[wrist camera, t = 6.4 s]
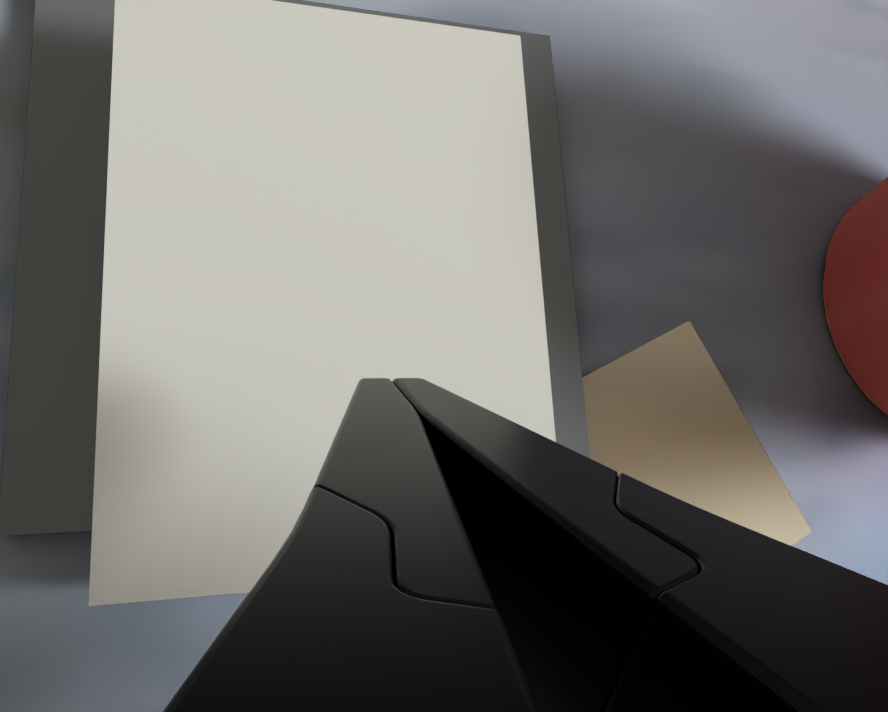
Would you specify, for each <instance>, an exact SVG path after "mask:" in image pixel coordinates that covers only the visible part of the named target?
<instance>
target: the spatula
mask: <svg viewBox="0 0 888 712" xmlns="http://www.w3.org/2000/svg"><path fill="white" fill-rule="evenodd" d="M582 378H583V388H584V398H585V409H586V419H587V430H588V440H589V450H590V459H592V460H594V461H596V462H598V463H601V464H603V465H605V466H607V467H609V468H611V469H613V470H615V471H617V473H618V475H619V474H620V473H624V474H626V475H628V476H630V477H632V478H635V479H637V480H639V481H641V482H643V483H645V484H647V485H649V486H651V487H654V488H656V489H658V490H660V491H662V492H665V493H667V494H669V495H671V496H673V497H676V498H678V499H680V500H682V501H684V502H687V503H689V504H691V505H694V506H696V507H698V508H701V509H703V510H705V511H708V512H710V513H712V514H715V515H717V516H720V517H722V518H724V519H727V520H729V521H731V522H734V523H736V524H739V525H741V526H743V527H746V528H748V529H751V530H753V531H756V532H758V533H761V534H763V535H766V536H768V537H770V538H773V539H775V540H778V541H780V542H783V543H785V544H788V545H790V546H792V545H793V544H795V543H796V542H798V541H799V540H801V539H802V538H804V537H805V536H807V535H808V534H810V533H811V532H812V531H811V529H810V527H809V526H808V524H807V522H806V520H805V519H804V517H803V515H802V514H801V512H800V510H799V508H798V507H797V505H796V503H795V501H794V500H793V498H792V496H791V495H790V493H789V491H788V489H787V488H786V486H785V484H784V483H783V481H782V479H781V477H780V476H779V474H778V472H777V470H776V469H775V467H774V465H773V464H772V462H771V460H770V458H769V457H768V455H767V453H766V451H765V450H764V448H763V446H762V445H761V443H760V441H759V439H758V438H757V436H756V434H755V433H754V431H753V429H752V427H751V426H750V424H749V422H748V420H747V419H746V417H745V415H744V414H743V412H742V410H741V408H740V407H739V405H738V403H737V401H736V400H735V398H734V396H733V395H732V393H731V391H730V389H729V388H728V386H727V384H726V383H725V381H724V379H723V377H722V376H721V374H720V372H719V370H718V369H717V367H716V365H715V364H714V362H713V360H712V358H711V357H710V355H709V353H708V352H707V350H706V348H705V346H704V345H703V343H702V341H701V339H700V338H699V336H698V334H697V333H696V331H695V329H694V327H693V326H692V324H691V322H690V320H689V321H687V322H685V323H684V324H682V325H680V326H678V327H676V328H674V329H672V330H670V331H669V332H667V333H665V334H663V335H661V336H659V337H657V338H655V339H654V340H652V341H650V342H648V343H646V344H644V345H642V346H640V347H639V348H637V349H635V350H633V351H631V352H629V353H627V354H625V355H623V356H622V357H620V358H618V359H616V360H614V361H612V362H610V363H608V364H607V365H605V366H603V367H601V368H599V369H597V370H595V371H593V372H592V373H590V374H588V375H586V376H584V377H582Z"/></svg>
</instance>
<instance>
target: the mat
mask: <svg viewBox="0 0 888 712" xmlns="http://www.w3.org/2000/svg"><path fill="white" fill-rule="evenodd" d="M273 1H280V2H287V3H294V4H301V5H308V6H315V7H323V8H330V9H337V10H344V11H351V12H358V13H365V14H372V15H379V16H386V17H393V18H400V19H407V20H414V21H421V22H428V23H435V24H442V25H449V26H456V27H463V28H470V29H477V30H484V31H491V32H498V33H505V34H512V35H519V36H520V37H521V49H522V60H523V71H524V83H525V94H526V106H527V117H528V129H529V140H530V151H531V163H532V174H533V186H534V197H535V208H536V220H537V231H538V243H539V254H540V266H541V277H542V288H543V300H544V311H545V323H546V334H547V345H548V357H549V368H550V380H551V391H552V402H553V414H554V425H555V437H556V442H557V443H559V444H561V445H563V446H565V447H567V448H569V449H571V450H573V451H575V452H578V453H580V454H582V455H584V456H586V457H588V458H590V450H589V440H588V430H587V419H586V409H585V398H584V388H583V378H582V367H581V357H580V346H579V336H578V326H577V315H576V305H575V294H574V284H573V274H572V263H571V253H570V242H569V232H568V222H567V211H566V201H565V190H564V180H563V170H562V159H561V149H560V138H559V128H558V118H557V107H556V97H555V86H554V76H553V66H552V55H551V45H550V36H545V35H538V34H531V33H524V32H517V31H510V30H503V29H496V28H490V27H483V26H476V25H469V24H462V23H455V22H448V21H441V20H434V19H427V18H420V17H414V16H407V15H400V14H393V13H386V12H379V11H372V10H365V9H358V8H351V7H344V6H338V5H331V4H324V3H317V2H310V1H303V0H273ZM114 12H115V0H35V11H34V26H33V40H32V54H31V68H30V82H29V96H28V111H27V125H26V139H25V153H24V167H23V182H22V196H21V210H20V224H19V238H18V252H17V267H16V281H15V295H14V309H13V323H12V338H11V352H10V366H9V380H8V394H7V408H6V423H5V437H4V451H3V465H2V479H1V493H0V536H11V535H28V534H46V533H63V532H81V531H92V518H93V495H94V472H95V449H96V426H97V403H98V380H99V357H100V334H101V311H102V288H103V265H104V242H105V219H106V196H107V173H108V150H109V127H110V104H111V81H112V58H113V35H114Z"/></svg>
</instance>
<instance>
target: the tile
mask: <svg viewBox="0 0 888 712" xmlns="http://www.w3.org/2000/svg"><path fill="white" fill-rule="evenodd" d="M362 378H388V379H390V380H391V381H393V380H394V379H396V378H421V379H425V380H427V381H429V382H431V383H433V384H435V385H437V386H439V387H441V388H444V389H446V390H448V391H450V392H452V393H454V394H456V395H458V396H460V397H462V398H464V399H467V400H469V401H471V402H473V403H475V404H477V405H479V406H481V407H483V408H485V409H488V410H490V411H492V412H494V413H496V414H498V415H500V416H502V417H504V418H506V419H508V420H511V421H513V422H515V423H517V424H519V425H521V426H523V427H525V428H527V429H529V430H531V431H534V432H536V433H538V434H540V435H542V436H544V437H546V438H548V439H550V440H552V441H554V442H556V437H555V425H554V414H553V402H552V391H551V380H550V368H549V357H548V345H547V334H546V323H545V311H544V300H543V288H542V277H541V266H540V254H539V243H538V231H537V220H536V208H535V197H534V186H533V174H532V163H531V151H530V140H529V129H528V117H527V106H526V94H525V83H524V71H523V60H522V49H521V37H520V36H519V35H512V34H505V33H498V32H491V31H484V30H477V29H470V28H463V27H456V26H449V25H442V24H435V23H428V22H421V21H414V20H407V19H400V18H393V17H386V16H379V15H372V14H365V13H358V12H351V11H344V10H337V9H330V8H323V7H315V6H308V5H301V4H294V3H287V2H280V1H273V0H115V12H114V35H113V58H112V81H111V104H110V127H109V150H108V173H107V196H106V219H105V242H104V265H103V288H102V311H101V334H100V357H99V380H98V403H97V426H96V449H95V472H94V495H93V518H92V541H91V564H90V587H89V606H96V605H108V604H120V603H132V602H143V601H155V600H167V599H179V598H190V597H202V596H214V595H226V594H237V593H249V592H250V591H251V589H252V588H253V587H254V585H255V584H256V583H257V581H258V580H259V578H260V577H261V576H262V574H263V573H264V571H265V570H266V569H267V567H268V566H269V565H270V563H271V562H272V560H273V559H274V557H275V556H276V554H277V553H278V551H279V550H280V548H281V547H282V545H283V544H284V542H285V541H286V539H287V537H288V536H289V534H290V533H291V531H292V529H293V527H294V525H295V523H296V521H297V519H298V518H299V516H300V514H301V512H302V510H303V508H304V506H305V503H306V501H307V499H308V496H309V494H310V492H311V490H312V489H313V487H314V484H315V482H316V480H317V477H318V475H319V473H320V470H321V468H322V466H323V463H324V461H325V459H326V456H327V454H328V452H329V449H330V447H331V445H332V442H333V440H334V438H335V435H336V433H337V431H338V428H339V426H340V424H341V421H342V419H343V417H344V414H345V412H346V410H347V407H348V405H349V403H350V400H351V398H352V396H353V393H354V391H355V389H356V386H357V384H358V382H359V381H360V380H361V379H362Z"/></svg>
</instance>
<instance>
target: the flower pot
mask: <svg viewBox="0 0 888 712" xmlns="http://www.w3.org/2000/svg"><path fill="white" fill-rule="evenodd" d="M823 297H824V307H825V313H826V319H827V323H828V326H829V330H830V333H831V336H832V338H833V341H834V344H835V346H836V349H837V351H838V353H839V355H840V357H841V359H842V361H843V363H844V365H845V367H846V368H847V370H848V372H849V373H850V375H851V376H852V378H853V379H854V381H855V382H856V384H857V385H858V386H859V388H860V389H861V390H862V392H863V393H864V394H865V395H866V396H867V397H868V398H869V399H870V400H871V401H872V402H873V403H874V404H875V405H876V406H877V407H878V408H879V409H880V410H881V411H882V412H884V413H885V414H886V415H888V178H887V179H886V180H884V181H883V182H882V183H881V184H879V185H878V186H877V187H875V188H874V189H873V190H872V191H870V192H869V193H868V194H866V195H865V196H863V197H862V198H861V199H859V200H858V201H857V202H856V203H855V204H854V205H853V206H852V207H851V208H850V209H849V210H848V211H847V212H846V214H845V215H844V216H843V217H842V219H841V220H840V222H839V224H838V225H837V227H836V229H835V231H834V232H833V235H832V237H831V240H830V243H829V246H828V250H827V255H826V265H825V274H824V280H823Z"/></svg>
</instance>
